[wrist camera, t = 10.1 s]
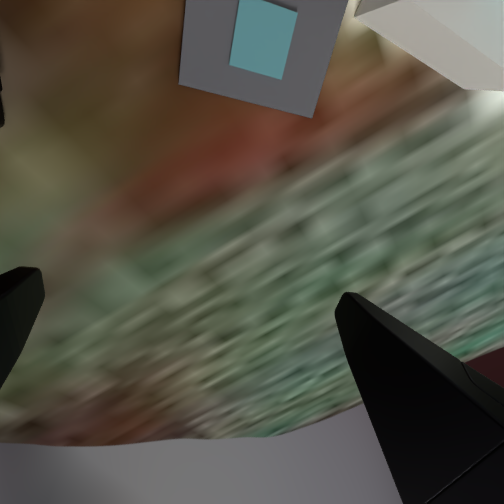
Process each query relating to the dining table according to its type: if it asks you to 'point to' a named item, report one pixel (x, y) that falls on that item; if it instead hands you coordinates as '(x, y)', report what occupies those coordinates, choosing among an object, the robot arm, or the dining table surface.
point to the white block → (445, 36)
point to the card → (260, 49)
